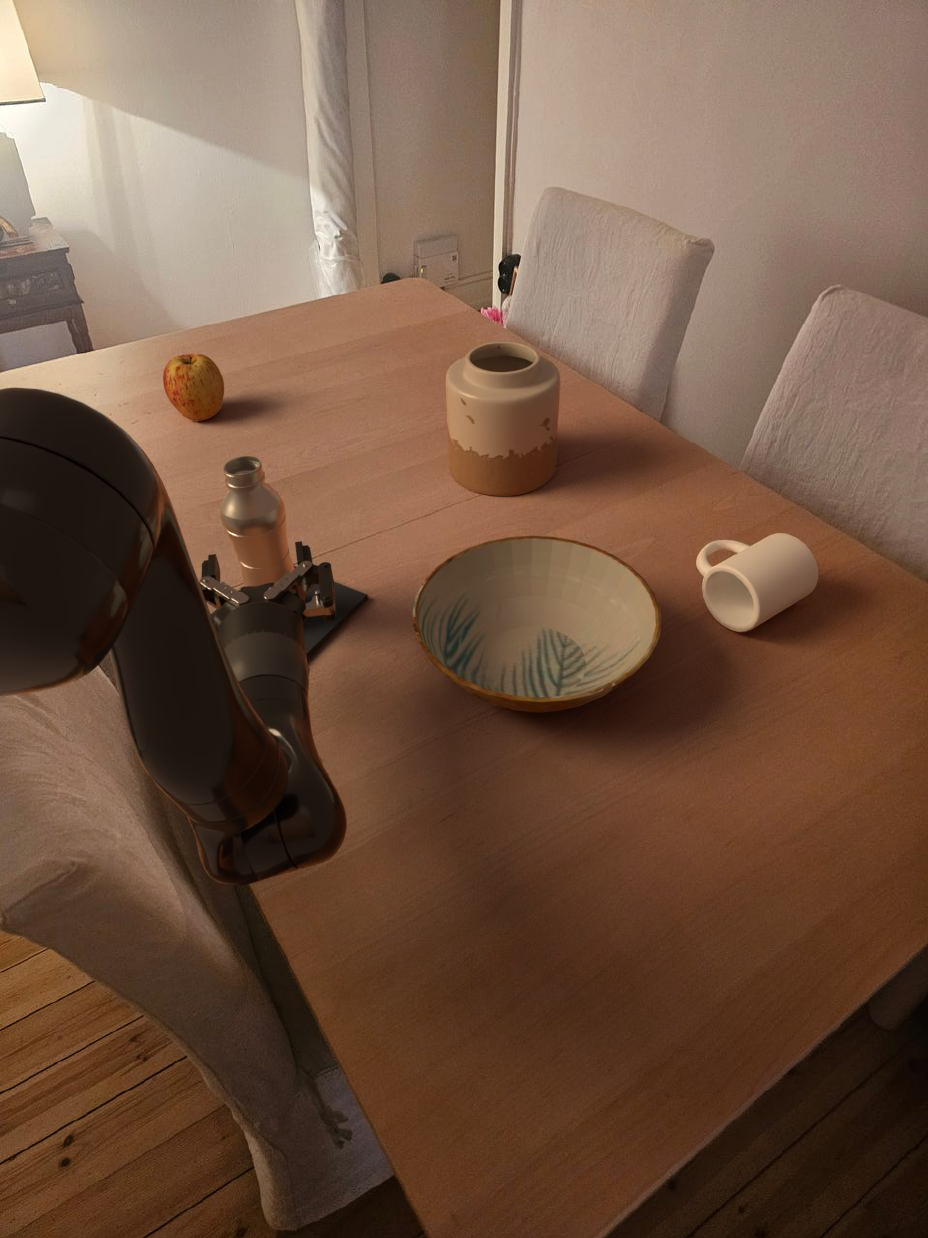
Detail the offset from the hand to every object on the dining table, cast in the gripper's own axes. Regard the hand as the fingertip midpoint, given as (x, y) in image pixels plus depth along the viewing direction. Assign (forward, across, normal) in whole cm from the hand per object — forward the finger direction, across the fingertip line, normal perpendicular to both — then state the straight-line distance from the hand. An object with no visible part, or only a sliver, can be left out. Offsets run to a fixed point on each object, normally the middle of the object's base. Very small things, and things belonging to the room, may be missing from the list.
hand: (257, 554), depth 83 cm
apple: (+58, +9, +14) cm, 60 cm away
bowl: (-9, -27, +13) cm, 31 cm away
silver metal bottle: (+5, 0, +13) cm, 14 cm away
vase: (+30, -33, +13) cm, 47 cm away
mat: (+5, 0, +13) cm, 14 cm away
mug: (-5, -53, +13) cm, 55 cm away
